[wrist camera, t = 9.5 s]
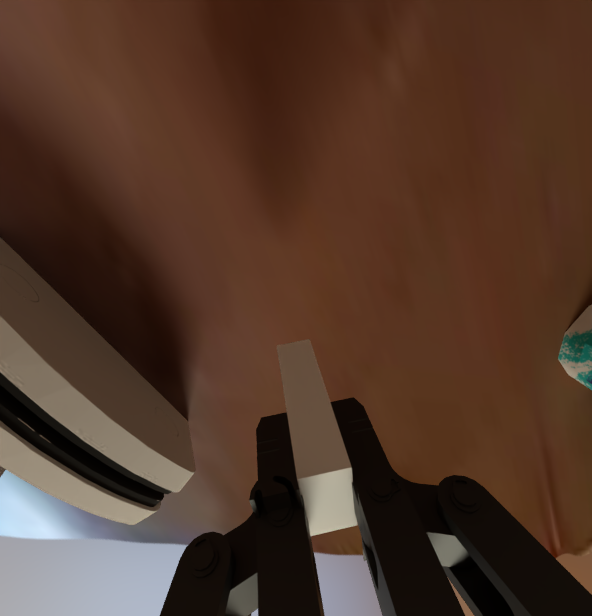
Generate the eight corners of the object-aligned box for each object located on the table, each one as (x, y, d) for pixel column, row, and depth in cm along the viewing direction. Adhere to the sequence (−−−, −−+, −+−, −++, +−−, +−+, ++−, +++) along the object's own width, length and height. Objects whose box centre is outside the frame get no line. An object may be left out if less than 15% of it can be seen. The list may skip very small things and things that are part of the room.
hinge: (-91, 273, 17) (-328, 326, 8) (-2, 223, 18) (-128, 222, 9) (133, 455, 24) (135, 584, 15) (187, 412, 25) (216, 510, 17)
